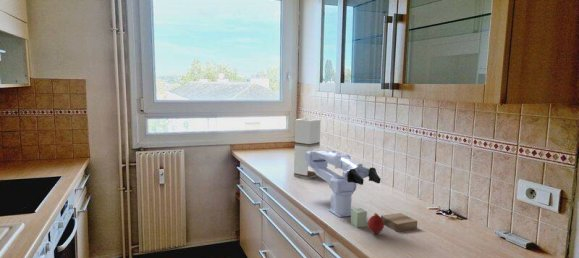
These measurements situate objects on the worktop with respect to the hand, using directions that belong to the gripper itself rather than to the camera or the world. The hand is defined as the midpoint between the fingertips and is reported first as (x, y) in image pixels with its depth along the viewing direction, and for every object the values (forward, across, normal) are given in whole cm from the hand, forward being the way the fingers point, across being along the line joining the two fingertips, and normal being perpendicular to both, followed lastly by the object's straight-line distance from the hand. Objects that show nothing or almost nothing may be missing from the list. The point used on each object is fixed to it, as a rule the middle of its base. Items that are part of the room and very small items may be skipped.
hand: (371, 181), depth 144 cm
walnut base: (+3, +14, +19) cm, 24 cm away
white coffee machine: (-84, +15, +33) cm, 91 cm away
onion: (+7, 0, +18) cm, 20 cm away
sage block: (-3, -1, +20) cm, 20 cm away
